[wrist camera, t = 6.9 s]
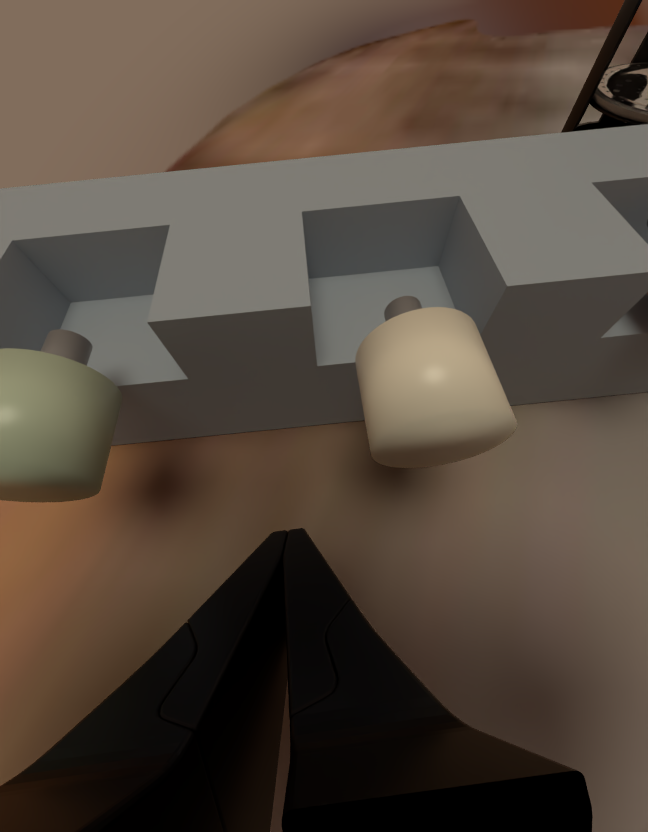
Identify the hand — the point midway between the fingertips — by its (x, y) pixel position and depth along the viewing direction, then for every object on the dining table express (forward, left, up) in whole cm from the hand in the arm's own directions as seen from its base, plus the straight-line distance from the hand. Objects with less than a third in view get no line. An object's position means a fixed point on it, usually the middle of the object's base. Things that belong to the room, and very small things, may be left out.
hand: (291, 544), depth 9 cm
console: (+10, -7, -6) cm, 13 cm away
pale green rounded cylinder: (+6, +6, -1) cm, 8 cm away
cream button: (+3, -5, -1) cm, 6 cm away
